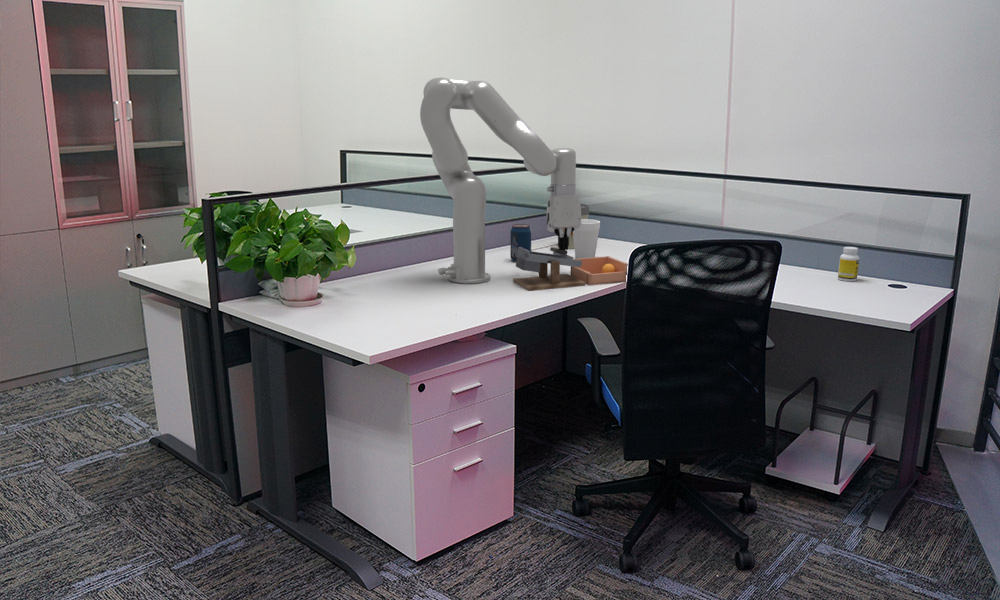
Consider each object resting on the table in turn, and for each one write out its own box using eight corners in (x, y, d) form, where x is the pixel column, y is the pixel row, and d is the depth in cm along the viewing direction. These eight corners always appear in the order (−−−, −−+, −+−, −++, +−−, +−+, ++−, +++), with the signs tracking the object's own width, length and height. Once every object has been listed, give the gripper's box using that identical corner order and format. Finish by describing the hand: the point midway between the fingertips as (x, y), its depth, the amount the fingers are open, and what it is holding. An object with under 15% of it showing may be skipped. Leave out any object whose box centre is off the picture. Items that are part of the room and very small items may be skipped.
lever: (523, 270, 237) (527, 250, 236) (504, 260, 251) (507, 241, 250) (580, 277, 245) (584, 257, 244) (558, 267, 259) (562, 248, 257)
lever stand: (528, 290, 237) (528, 265, 235) (513, 281, 247) (513, 257, 246) (585, 285, 243) (585, 260, 241) (567, 277, 254) (568, 253, 252)
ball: (603, 270, 248) (613, 262, 249) (597, 267, 252) (607, 259, 253) (609, 280, 250) (619, 272, 251) (603, 277, 254) (613, 270, 254)
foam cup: (600, 262, 275) (601, 223, 272) (572, 262, 275) (572, 223, 272) (597, 256, 284) (598, 219, 281) (570, 256, 284) (571, 219, 281)
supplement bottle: (857, 282, 246) (861, 249, 244) (838, 281, 248) (841, 248, 246) (856, 278, 251) (859, 246, 249) (837, 277, 253) (840, 245, 250)
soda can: (532, 259, 280) (532, 224, 278) (529, 263, 274) (530, 227, 271) (511, 258, 281) (511, 223, 278) (509, 262, 275) (509, 226, 272)
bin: (588, 285, 243) (588, 266, 242) (570, 276, 254) (570, 259, 253) (627, 281, 248) (627, 263, 246) (608, 273, 259) (608, 256, 257)
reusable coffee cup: (579, 251, 294) (580, 209, 290) (548, 247, 300) (548, 206, 297) (594, 245, 304) (595, 204, 301) (563, 242, 311) (564, 202, 307)
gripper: (545, 192, 245) (546, 253, 249) (591, 189, 250) (590, 249, 255) (535, 190, 252) (536, 249, 256) (580, 186, 257) (579, 245, 261)
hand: (563, 249), depth 255 cm, fingers closed
